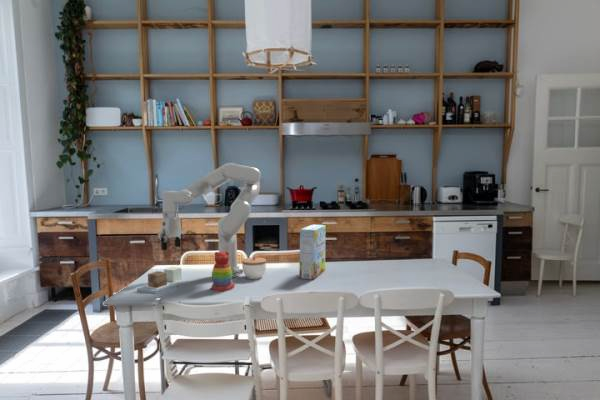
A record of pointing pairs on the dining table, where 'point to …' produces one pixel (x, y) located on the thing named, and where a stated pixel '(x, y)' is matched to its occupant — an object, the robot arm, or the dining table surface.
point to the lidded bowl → (254, 267)
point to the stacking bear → (222, 273)
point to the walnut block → (157, 279)
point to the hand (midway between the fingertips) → (171, 248)
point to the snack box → (312, 251)
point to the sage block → (173, 274)
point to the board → (156, 290)
